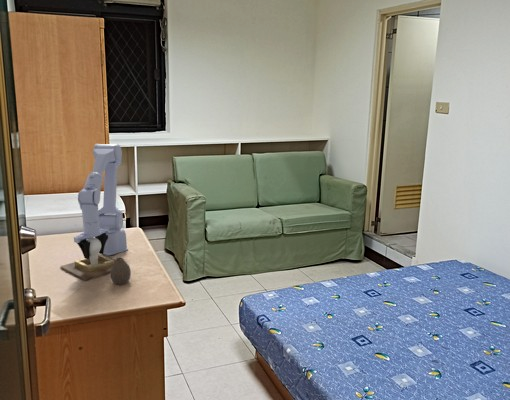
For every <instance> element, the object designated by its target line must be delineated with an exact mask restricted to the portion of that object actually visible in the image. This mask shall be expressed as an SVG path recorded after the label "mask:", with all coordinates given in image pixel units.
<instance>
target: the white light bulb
mask: <svg viewBox="0 0 510 400" xmlns="http://www.w3.org/2000/svg"><path fill="white" fill-rule="evenodd" d="M87 241H88V242H90V248H89V253H90V258H89V259H90V262H91V265H96V264H98V254H99V251H100V249H101V242H100V241H99V240H98V239H97V238H95V237H93V238H90V239H87Z"/></svg>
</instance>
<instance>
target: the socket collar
mask: <svg viewBox="0 0 510 400" xmlns="http://www.w3.org/2000/svg"><path fill="white" fill-rule="evenodd" d="M98 260H99V261H101V262H103V263H100V264H96V265H93V266H88V265H86V264H88V263H91V262H90V259H85V258H84V257H83V258H80V259H76V260H74V262H75V266H76V267H78V268H80V269H82V270H84V271H86V272H88V273H92V272H95V271H98V270H101V269H105V268H108V267H111V266H112V265H113V264H114V260H112V259H110V258H108V257H105V256H103V255H101V254H98Z"/></svg>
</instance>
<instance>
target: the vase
mask: <svg viewBox="0 0 510 400" xmlns="http://www.w3.org/2000/svg"><path fill="white" fill-rule="evenodd" d="M109 277H110V279H111V281H112V282H113V283H114V284H115V285H118V286H119V285H125V284H127V283H128V282H129V280H130V278H131V267H130V264H128V263H127V262H126V261H125V260H124V258H123V257H117V258H116V261H115V262H114V264H113V265H112V267H111V270H110V273H109Z"/></svg>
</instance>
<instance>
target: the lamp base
mask: <svg viewBox="0 0 510 400" xmlns="http://www.w3.org/2000/svg"><path fill="white" fill-rule="evenodd" d="M101 255H103V256H105V257H108V258H110V259H112V260H114V262H115V261H116V259H117V258H116V259H115V258H114V257H111V256H110V255H109V256H108V255H105V254H101ZM100 263H103V262H101V261H99V260H98V264H100ZM86 265H88V266H93V265H91V263H88V264H86ZM59 267H60V269H61V270H63V271H65V272H67V273H69V274H70V275H72V276H75V277H76V278H79V279H80V280H83V281H84V282H87V281H90V280H91V281H92V280H95V279H97V278H100V277H103V276H106V275H110V270H111V267H112V266H111V267H108V268H105V269H101V270H98V271H95V272H92V273H88V272H86V271H84V270H82V269H80V268H78V267H76V266H75V261H73V262H71V263H67V264H64V265H60V266H59Z"/></svg>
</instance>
